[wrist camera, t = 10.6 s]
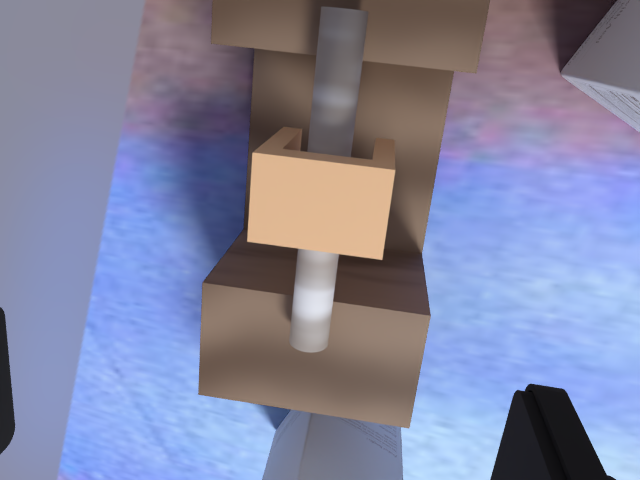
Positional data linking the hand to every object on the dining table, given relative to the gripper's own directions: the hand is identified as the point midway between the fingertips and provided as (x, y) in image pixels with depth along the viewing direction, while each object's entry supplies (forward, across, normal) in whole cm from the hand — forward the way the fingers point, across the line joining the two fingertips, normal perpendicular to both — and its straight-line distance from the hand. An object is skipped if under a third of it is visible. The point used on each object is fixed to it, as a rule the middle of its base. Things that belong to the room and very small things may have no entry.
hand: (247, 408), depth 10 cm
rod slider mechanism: (+28, 0, +1) cm, 28 cm away
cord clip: (+22, 0, +1) cm, 22 cm away
